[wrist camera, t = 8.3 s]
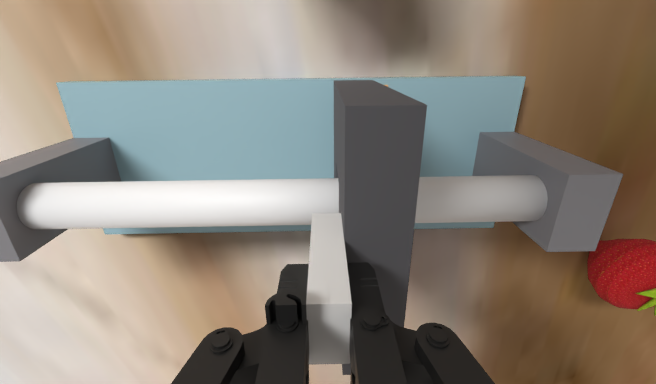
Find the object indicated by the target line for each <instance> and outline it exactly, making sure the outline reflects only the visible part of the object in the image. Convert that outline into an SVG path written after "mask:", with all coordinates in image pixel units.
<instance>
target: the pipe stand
mask: <svg viewBox="0 0 656 384" xmlns="http://www.w3.org/2000/svg"><path fill="white" fill-rule="evenodd" d="M525 79H526V77H523V76H458V77H379V78H300V79H221V80H143V81H69V82H59V83H56V84H57V87H58V90H59V93H60V96H61V99H62V102H63V106H64V109H65V112H66V115H67V118H68V121H69V124H70V127H71V130H72V133H73V137H74V138H72V139H69V140H66V141H63V142H60V143H57V144H54V145H51V146H48V147H45V148H41V149H38V150H35V151H32V152H29V153H26V154H23V155H20V156H17V157H14V158H11V159H8V160H4V161H1V162H0V262H6V261H21V260H23V259H24V258H26V257H27V256H29V255H30V254H32V253H33V252H35V251H36V250H37V249H39V248H40V247H42V246H43V245H45V244H46V243H48V242H49V241H51V240H52V239H54V238H55V237H57V236H58V235H60V234H61V233H63V232H64V231H66V230H67V229H94V228H103V230H104V233H105V234H152V233H211V232H270V231H311V223H312V214H314V213H339V181H338V178H334V80H374V81H376V82H378V83H380V84H383V85H385V86H387V87H389V88H391V89H393V90H396V91H398V92H400V93H402V94H404V95H407V96H409V97H411V98H413V99H415V100H417V101H420V102H422V103H424V104H426V105H427V112H426V121H425V131H424V140H423V150H422V159H421V169H420V178H419V188H418V197H417V206H416V216H415V225H414V229H446V228H494V223H495V222H510V221H512V222H513V223H514V224H515V225H516V226H517V227H519V228H520V229H521V230H522V231H523V232H524V233H525V234H527V235H528V236H529V237H530V238H531V239H532V240H533V241H535V242H536V243H537V244H538V245H539V246H540V247H541V248H543V249H544V250H545V251H546V252H570V251H595V250H596V247H597V245H598V242H599V239H600V236H601V234H602V231H603V228H604V225H605V223H606V220H607V217H608V215H609V212H610V209H611V206H612V204H613V201H614V198H615V195H616V193H617V190H618V187H619V184H620V182H621V179H622V176H623V174H621V173H619V172H616V171H614V170H611V169H609V168H606V167H603V166H601V165H598V164H596V163H593V162H591V161H588V160H586V159H583V158H580V157H578V156H575V155H573V154H570V153H568V152H565V151H562V150H560V149H557V148H555V147H552V146H550V145H547V144H544V143H542V142H539V141H537V140H534V139H532V138H529V137H527V136H524V135H521V134H519V133H516V132H514V130H515V125H516V121H517V116H518V111H519V107H520V102H521V97H522V93H523V88H524V83H525Z"/></svg>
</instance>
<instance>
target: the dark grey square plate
mask: <svg viewBox="0 0 656 384" xmlns="http://www.w3.org/2000/svg"><path fill="white" fill-rule="evenodd" d="M426 112H427V105H426V104H424V103H422V102H420V101H417V100H415V99H413V98H411V97H409V96H407V95H404V94H402V93H400V92H398V91H396V90H393V89H391V88H389V87H387V86H385V85H383V84H380V83H378V82H376V81H374V80H334V178H338V181H339V213H341V218H342V226H343V235H344V242H345V250H346V259H347V263H356V262H368V263H369V264H370V265H371V266H372V267H373V268H374V269H375V273H376V277H377V281H378V286H379V290H380V294H381V298H382V302H383V306H384V310H385V313H386V315H387V316H388V317H389V318H390V320H391V321H392V322H393V323H394V324H396V325H398V326H400V327H403V328H404V320H405V310H406V301H407V291H408V282H409V273H410V263H411V254H412V244H413V235H414V225H415V216H416V206H417V197H418V188H419V178H420V169H421V159H422V150H423V140H424V131H425V121H426ZM342 370H343V375H351V362H350V364H342Z"/></svg>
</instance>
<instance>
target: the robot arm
mask: <svg viewBox="0 0 656 384" xmlns="http://www.w3.org/2000/svg"><path fill="white" fill-rule="evenodd" d="M265 311H266V320H267V324H266V325H265V326H264V327H263V328H261V329H259V330H257V331H254V332H251V333H248V334H244V335H242V334H241V333H240V332H239V331H238V330H237V329H234V328H220V329H217V330H215V331H213V332H211V333H209V334H208V335H207V336H206V337H205V338H204V339H203V340H202V342H201V343H200V344H199V346H198V347H197V348H196V350H195V351H194V353H193V354H192V355H191V357H190V358H189V360H188V361H187V362H186V364H185V365H184V367H183V368H182V369H181V371H180V372H179V373H178V375H177V376H176V378H175V379H174V380H173V382H172V383H171V384H309V364H350V362H351V384H495V383H494V382H493V381H492V379H491V378H490V377H489V376H488V374H487V373H486V372H485V371H484V369H483V368H482V367H481V365H480V364H479V363H478V362H477V360H476V359H475V358H474V357H473V355H472V354H471V353H470V351H469V350H468V349H467V348H466V346H465V345H464V344H463V343H462V341H461V340H460V339H459V338H458V336H457V335H456V334H455V333H454V332H453V331H452V330H451V329H450V328H448V327H446V326H444V325H442V324H437V323H426V324H423V325H421V326H420V327H419V328H418V330H417V331H414V330H410V329H406V328H403V327H400V326H398V325H396V324H394V323H393V322H392V321H391V320H390V318H389V317H388V316H387V315H386V313H385V310H384V306H383V302H382V298H381V294H380V290H379V286H378V281H377V277H376V273H375V269H374V268H373V267H372V266H371V265H370V264H369V263H368V262H356V263H347V259H346V250H345V242H344V235H343V226H342V218H341V213H314V214H312V223H311V238H310V253H309V264H287V265H286V267H285V268H284V269H283V270H282V271H281V275H280V280H279V285H278V290H277V294H275V295H273V296H272V297H271V298H269V299H268V300H267V302H266V304H265Z"/></svg>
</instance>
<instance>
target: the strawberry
mask: <svg viewBox="0 0 656 384" xmlns="http://www.w3.org/2000/svg"><path fill="white" fill-rule="evenodd" d="M587 264H588V279H589V281H590V282H591V284H592V286H593V287H594V289H595V291H596V292H597V294H598V296H599V297H601V298H602V299H603V300H605V301H607V302H609V303H610V304H612V305H614V306H616V307H619V308H627V309H637V311H640V310H643V309H646V308H650V307H654V306H655V310H654V316H655V315H656V242H655V241H651V240H647V239H616V240H608V241H599V242H598V245H597V247H596V250H595V251H589V257H588V262H587Z"/></svg>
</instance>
